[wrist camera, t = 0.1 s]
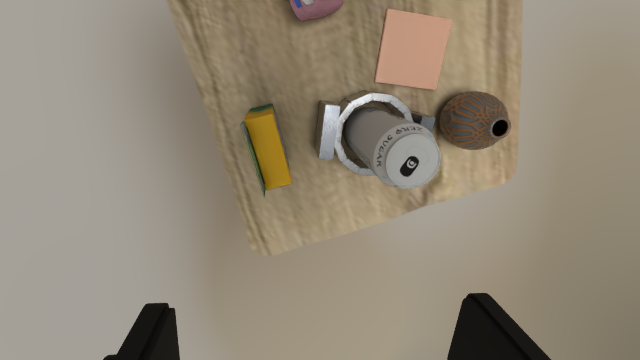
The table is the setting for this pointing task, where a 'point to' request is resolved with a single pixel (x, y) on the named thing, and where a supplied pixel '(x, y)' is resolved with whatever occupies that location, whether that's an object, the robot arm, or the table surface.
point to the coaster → (412, 49)
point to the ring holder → (336, 115)
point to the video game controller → (314, 8)
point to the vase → (474, 120)
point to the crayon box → (266, 147)
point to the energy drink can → (393, 147)
